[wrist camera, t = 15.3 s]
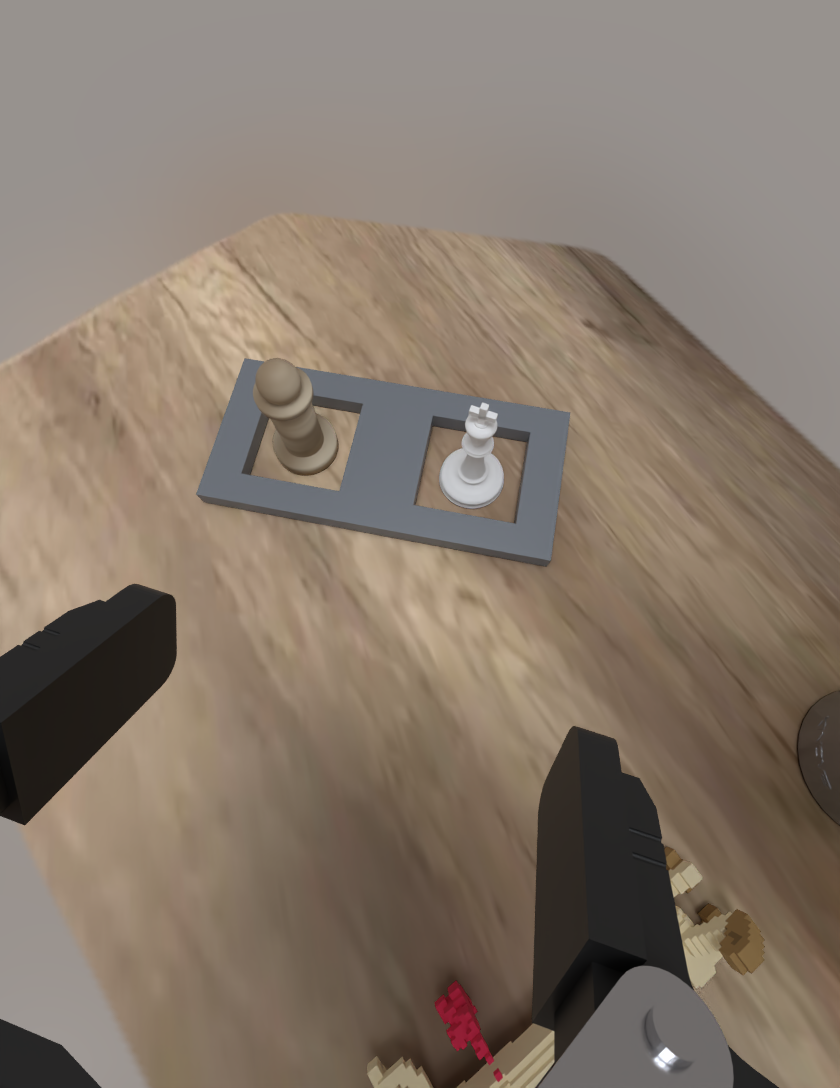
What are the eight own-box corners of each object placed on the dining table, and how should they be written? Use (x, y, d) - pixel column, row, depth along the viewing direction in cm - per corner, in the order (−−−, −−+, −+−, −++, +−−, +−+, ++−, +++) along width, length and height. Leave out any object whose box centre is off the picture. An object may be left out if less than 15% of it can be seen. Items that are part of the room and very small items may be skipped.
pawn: (344, 425, 42) (320, 341, 33) (329, 480, 41) (300, 408, 31) (286, 415, 43) (246, 329, 33) (269, 469, 41) (222, 395, 32)
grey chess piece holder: (565, 422, 42) (570, 412, 41) (546, 566, 39) (550, 560, 37) (250, 369, 44) (244, 358, 43) (204, 502, 41) (196, 494, 39)
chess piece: (452, 441, 42) (459, 360, 32) (512, 462, 41) (537, 385, 32) (429, 496, 40) (430, 428, 31) (491, 517, 40) (511, 455, 30)
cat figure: (631, 811, 35) (294, 1105, 29) (705, 832, 27) (258, 1246, 21) (740, 961, 32) (396, 1318, 26) (859, 1034, 24) (400, 1577, 18)
